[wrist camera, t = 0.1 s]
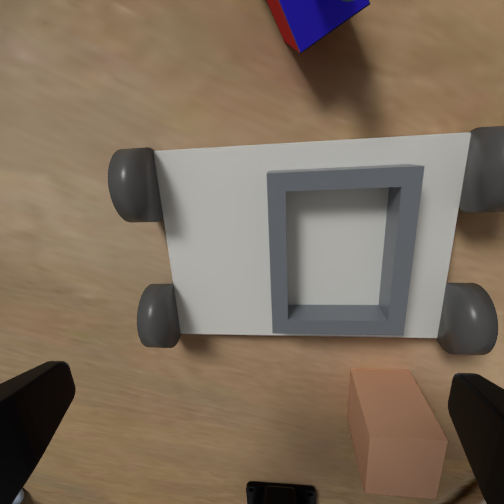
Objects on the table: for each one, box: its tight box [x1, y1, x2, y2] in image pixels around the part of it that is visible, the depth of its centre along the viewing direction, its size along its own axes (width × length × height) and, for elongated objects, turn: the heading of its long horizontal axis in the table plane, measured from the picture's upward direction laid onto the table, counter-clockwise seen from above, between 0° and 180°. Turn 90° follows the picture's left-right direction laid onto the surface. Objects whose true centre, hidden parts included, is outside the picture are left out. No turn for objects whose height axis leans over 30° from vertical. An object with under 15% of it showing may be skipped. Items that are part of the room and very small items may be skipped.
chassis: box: [108, 126, 504, 355], centre depth 19 cm, size 13×21×4 cm, turn 93°
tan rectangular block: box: [347, 369, 448, 499], centre depth 22 cm, size 5×4×6 cm
